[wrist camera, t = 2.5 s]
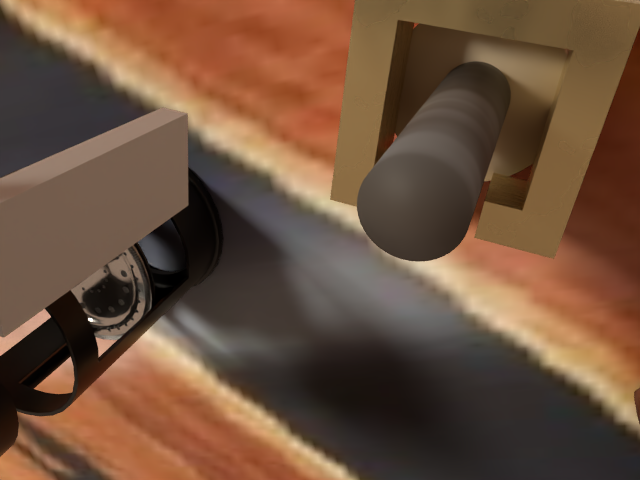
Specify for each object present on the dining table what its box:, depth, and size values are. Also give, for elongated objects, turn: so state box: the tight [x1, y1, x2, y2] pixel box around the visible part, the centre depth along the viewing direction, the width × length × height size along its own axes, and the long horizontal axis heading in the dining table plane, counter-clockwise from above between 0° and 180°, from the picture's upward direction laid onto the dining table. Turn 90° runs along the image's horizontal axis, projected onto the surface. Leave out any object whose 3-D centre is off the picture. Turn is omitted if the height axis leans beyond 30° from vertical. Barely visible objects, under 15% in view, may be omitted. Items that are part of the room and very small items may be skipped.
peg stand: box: [357, 24, 568, 261], centre depth 20 cm, size 7×7×13 cm
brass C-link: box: [330, 0, 640, 259], centre depth 22 cm, size 9×9×3 cm
